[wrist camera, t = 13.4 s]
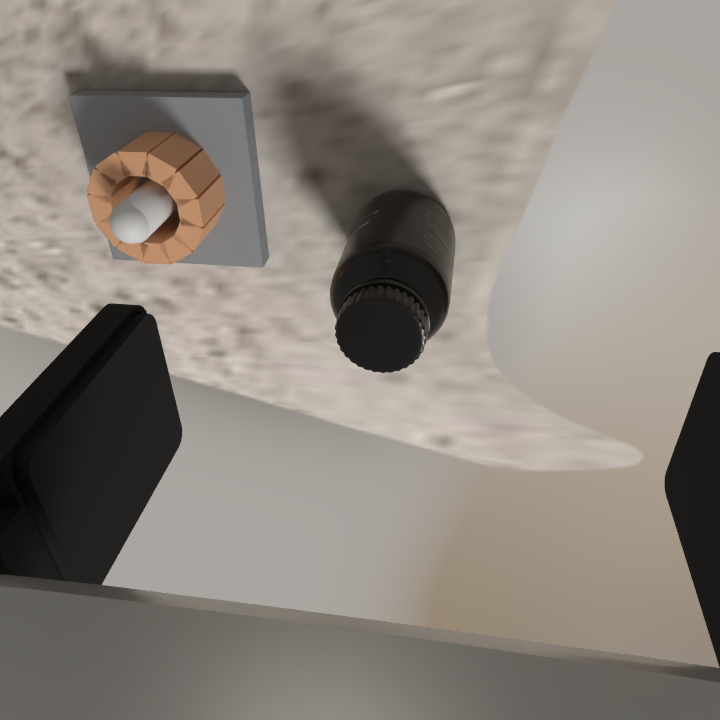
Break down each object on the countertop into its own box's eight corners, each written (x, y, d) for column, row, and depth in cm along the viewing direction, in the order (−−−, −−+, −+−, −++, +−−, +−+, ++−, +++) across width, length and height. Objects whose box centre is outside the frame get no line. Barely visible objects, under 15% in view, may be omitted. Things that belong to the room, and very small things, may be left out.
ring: (107, 130, 39) (74, 150, 36) (215, 132, 38) (190, 153, 35) (133, 234, 44) (105, 260, 40) (230, 239, 43) (210, 266, 39)
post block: (81, 89, 40) (-3, 127, 33) (249, 92, 38) (198, 133, 31) (122, 249, 46) (60, 310, 39) (268, 257, 45) (230, 321, 38)
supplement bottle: (351, 186, 41) (310, 273, 31) (458, 188, 40) (451, 279, 30) (355, 281, 45) (320, 384, 35) (453, 285, 44) (444, 392, 34)
